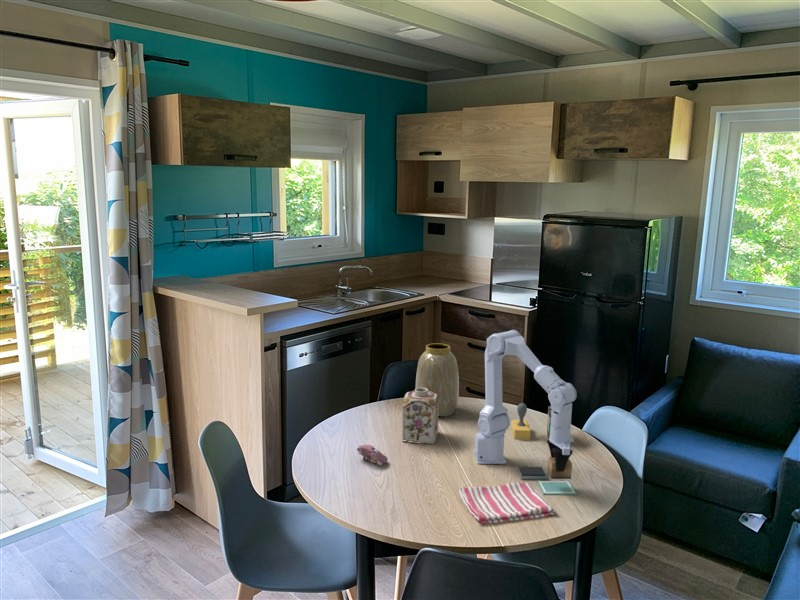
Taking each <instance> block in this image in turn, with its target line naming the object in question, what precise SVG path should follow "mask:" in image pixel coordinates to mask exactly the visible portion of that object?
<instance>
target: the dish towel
mask: <svg viewBox="0 0 800 600" xmlns="http://www.w3.org/2000/svg"><path fill="white" fill-rule="evenodd" d="M458 494H459V497H460V499H461V500H462V502H463V504H464V505H465V506H466V507H467V509H468V511H469V512H470V513H471V515H473V517H474V518H475V519H476V520H478V521H479V522H480V524H481V525H485V524H486V525H487V524H498V523H499V524H500V523H506V522H514V521H523V520H530V519H539V518H544V517H549V516H553V515H555V514H556V512H557V511H556V510H555V508H554V507H553V506H551V504H550V503H549V502H548V501H547V500H546V499H545V498H544V496H542V495H541V494H540V493H539V492H538V491H537V490H536V489H535V488H534V487H533V485H532V484H531V483H528V482H512V483H506V484H503V485H492V486H486V487H484V486H471V487H469V486H468V487H466V486H464V485H463V486H461V487H460V488H459V489H458Z"/></svg>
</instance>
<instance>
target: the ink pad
mask: <svg viewBox="0 0 800 600" xmlns="http://www.w3.org/2000/svg"><path fill="white" fill-rule="evenodd" d="M516 469H517V470H516V471H517V474H518V476H519V478H520V480H522V481H523V480H527V481H528V480H530V481H531V480H536V481H548V474H547V473H546V472H545V470H544V468H543V467H542V466H517V467H516Z"/></svg>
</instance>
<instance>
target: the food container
mask: <svg viewBox="0 0 800 600" xmlns="http://www.w3.org/2000/svg"><path fill="white" fill-rule="evenodd" d="M551 412H552V409H551V405H550V406H548V407H547V426H546V427H547V428H546V436H547V437H546V438H547V439H546V441H547V440H549V436H550V428H551Z"/></svg>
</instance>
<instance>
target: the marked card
mask: <svg viewBox="0 0 800 600" xmlns="http://www.w3.org/2000/svg"><path fill="white" fill-rule="evenodd" d="M536 483H537V485H538V487H539V489H540V491H541V493H542V494H543V496H548V495H549V496H555V495H556V496H562V495H563V496H564V495H565V496H566V495H567V496H572V495H573V496H576V495H578V493H577V491H576V490H575V488H574V486H573V485H572V483H571V482H570V480H536Z"/></svg>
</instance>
